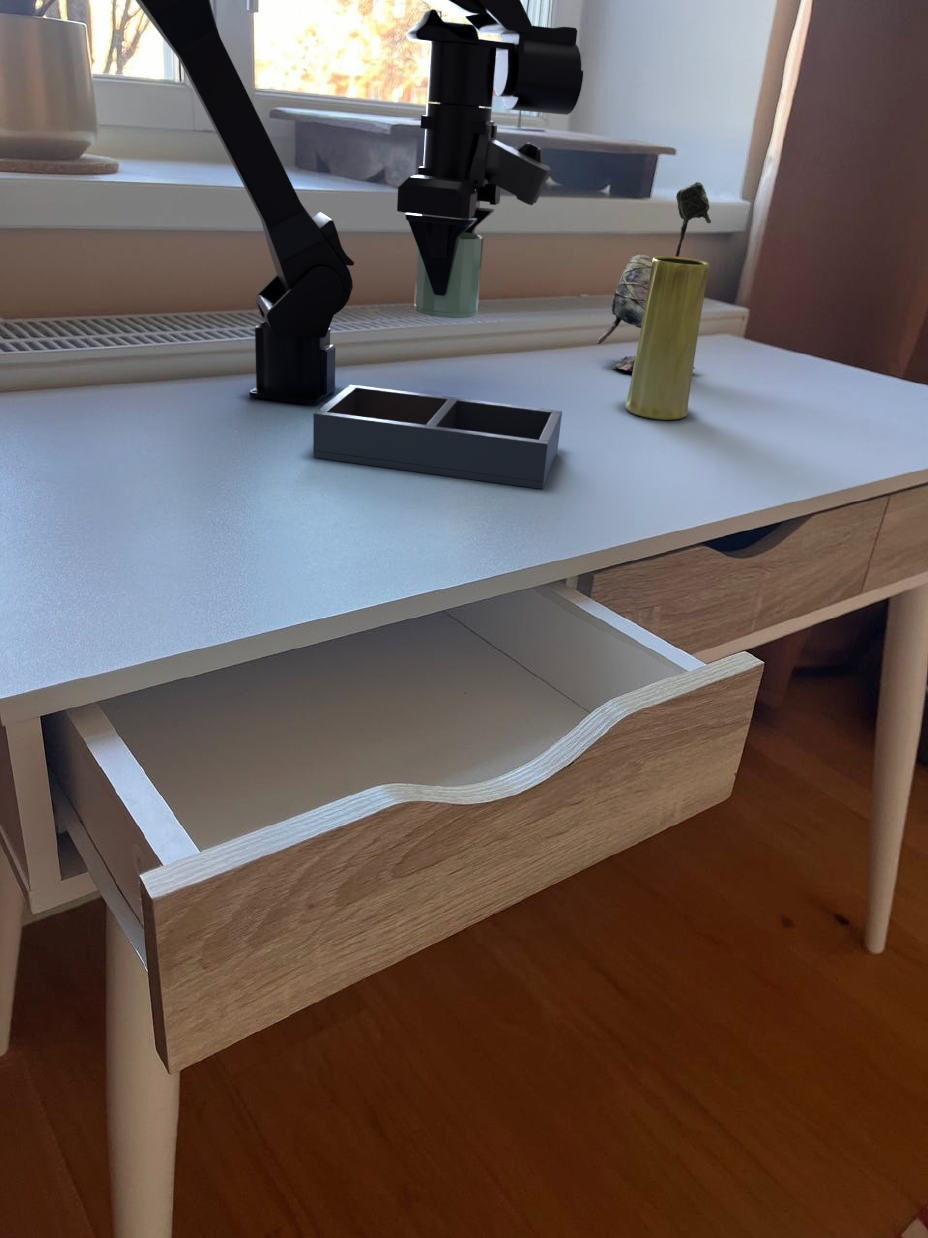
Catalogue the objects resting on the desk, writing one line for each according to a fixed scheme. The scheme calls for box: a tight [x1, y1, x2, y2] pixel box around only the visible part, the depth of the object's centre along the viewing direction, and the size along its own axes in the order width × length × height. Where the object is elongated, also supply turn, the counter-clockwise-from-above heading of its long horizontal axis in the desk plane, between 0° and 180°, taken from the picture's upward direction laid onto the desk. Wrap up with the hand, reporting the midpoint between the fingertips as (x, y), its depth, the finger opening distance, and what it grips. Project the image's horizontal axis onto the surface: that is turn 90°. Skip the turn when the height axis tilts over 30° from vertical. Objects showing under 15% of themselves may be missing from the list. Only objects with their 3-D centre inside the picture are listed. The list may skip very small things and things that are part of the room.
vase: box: [624, 255, 710, 421], centre depth 95 cm, size 6×6×14 cm
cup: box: [413, 232, 485, 319], centre depth 94 cm, size 6×6×7 cm
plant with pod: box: [596, 181, 712, 372], centre depth 110 cm, size 8×11×20 cm
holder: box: [312, 384, 563, 490], centre depth 81 cm, size 10×18×4 cm, turn 78°
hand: (446, 289), depth 95 cm, fingers closed on cup, 6 cm apart
